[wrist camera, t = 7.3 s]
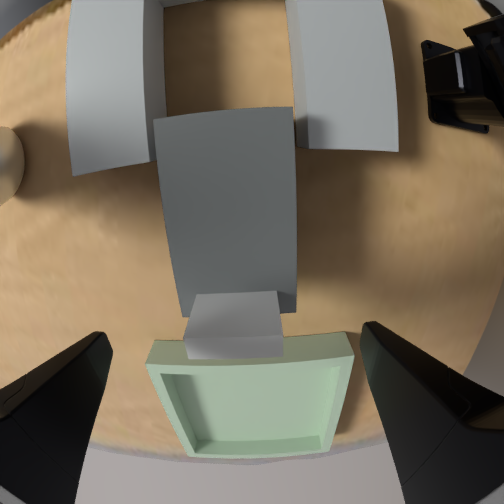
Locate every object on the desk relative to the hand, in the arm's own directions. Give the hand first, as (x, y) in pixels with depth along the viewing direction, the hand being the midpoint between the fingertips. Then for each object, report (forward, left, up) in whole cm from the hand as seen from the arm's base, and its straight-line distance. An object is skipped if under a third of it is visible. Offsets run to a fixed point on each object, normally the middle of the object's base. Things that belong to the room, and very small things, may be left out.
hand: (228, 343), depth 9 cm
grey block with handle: (0, -2, -11) cm, 11 cm away
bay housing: (0, -11, -11) cm, 16 cm away
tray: (0, +17, -11) cm, 20 cm away
